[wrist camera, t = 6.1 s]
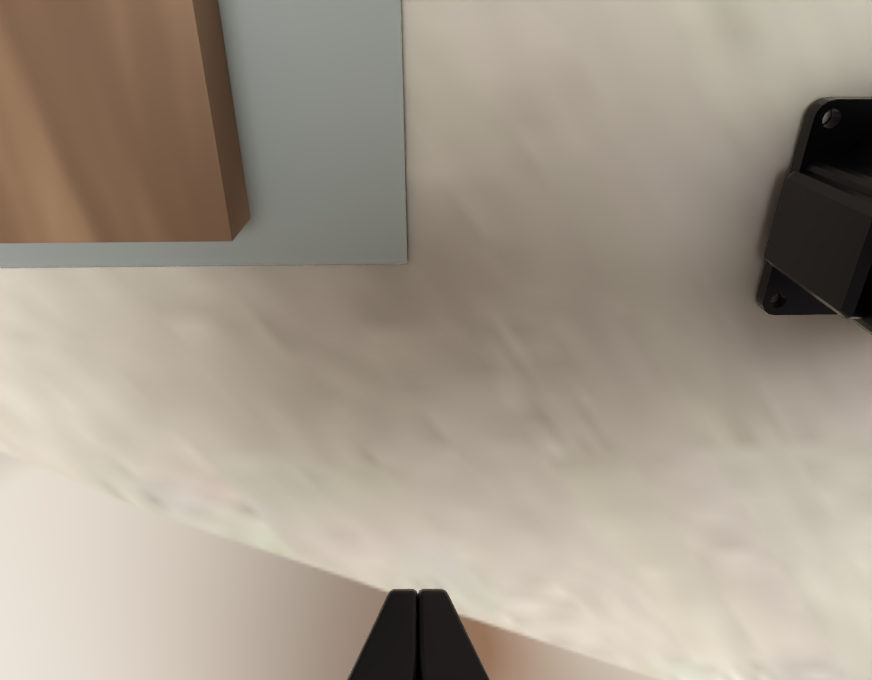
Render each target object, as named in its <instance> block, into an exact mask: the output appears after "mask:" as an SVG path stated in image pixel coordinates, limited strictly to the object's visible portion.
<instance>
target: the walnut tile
mask: <svg viewBox="0 0 872 680" xmlns="http://www.w3.org/2000/svg"><path fill="white" fill-rule="evenodd" d="M249 220H250V213H249V206H248V199H247V193H246V186H245V179H244V173H243V166H242V159H241V152H240V146H239V139H238V132H237V125H236V119H235V112H234V105H233V98H232V92H231V85H230V78H229V72H228V65H227V58H226V51H225V45H224V38H223V31H222V24H221V18H220V11H219V4H218V0H0V243H108V242H218V241H233V240H234V238H235V237H236V236H237V235H238V233H239V232H240V231H241V230H242V228H243V227H244V226H245V225H246V223H247V222H248V221H249Z"/></svg>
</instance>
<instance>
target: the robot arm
mask: <svg viewBox="0 0 872 680" xmlns="http://www.w3.org/2000/svg"><path fill="white" fill-rule="evenodd" d="M829 110H832V111H833V114H832V118H831V120H830V121H829V122H828V123H827V124H826V125H823V124H822V118H823V117H824V115H825V113H826V112H828V111H829ZM765 258H766V260H767V261H766V264H765V268H764V272H763V275H762V279H761V283H760V286H759V290H758V294H757V303H758V305H759V306H760V307H761V308H762V309H763V310H764V311H766V312H767V313H768V314H772V315H812V314H839V315H840V316H841V317H843V318H845V319H851V320H853V321H854V322H855V323H857V324H858V325H859V326H861V327H862V328H864V329H865V330H866V331H868V332H869V333H871V334H872V97H828V98H823V99H820V100H819V101H817V102H815V103H814V104H813V105H812V106H811V107H810V109H809V110H808V112H807V115H806V117H805V121H804V124H803V128H802V132H801V135H800V139H799V143H798V146H797V150H796V154H795V158H794V161H793V165H792V169H791V172H790V174H789V176H788V177H787V178H786V179H785V181H784V184H783V188H782V192H781V195H780V199H779V203H778V207H777V210H776V214H775V218H774V221H773V225H772V229H771V233H770V236H769V240H768V244H767V247H766V251H765ZM776 294H780V297H779V298H778V300H776V301H775V302H772V303H771V299H772V297H774V296H775V295H776ZM347 680H490V679H489V677H488V675H487V673H486V671H485V669H484V667H483V665H482V662H481V660H480V658H479V657H478V654H477V652H476V650H475V648H474V646H473V644H472V642H471V640H470V638H469V636H468V634H467V632H466V630H465V628H464V626H463V624H462V622H461V620H460V617H459V615H458V613H457V611H456V609H455V607H454V605H453V603H452V601H451V599H450V597H449V595H448V593H447V592H446V591H445V590H443V589H422V590H420V591H419V593H418V594H417V591H416V590H414V589H393V590H391V591H390V592H389V593H388V595H387V597H386V599H385V601H384V603H383V605H382V608H381V610H380V612H379V614H378V616H377V618H376V620H375V622H374V624H373V627H372V629H371V631H370V633H369V635H368V637H367V639H366V641H365V643H364V646H363V648H362V650H361V652H360V654H359V656H358V658H357V660H356V662H355V665H354V667H353V669H352V671H351V673H350V675H349V677H348V679H347Z"/></svg>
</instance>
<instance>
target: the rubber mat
mask: <svg viewBox="0 0 872 680" xmlns="http://www.w3.org/2000/svg"><path fill="white" fill-rule="evenodd" d="M218 4H219V11H220V18H221V24H222V31H223V38H224V45H225V51H226V58H227V65H228V72H229V78H230V85H231V92H232V98H233V105H234V112H235V119H236V125H237V132H238V139H239V146H240V152H241V159H242V166H243V173H244V179H245V186H246V193H247V199H248V206H249V213H250V220H249V221H248V222H247V223H246V225H245V226H244V227H243V228H242V230H241V231H240V232H239V233H238V235H237V236H236V237H235V238H234V240H233V241H218V242H108V243H0V268H61V267H161V266H261V265H361V264H407V226H406V185H405V144H404V103H403V62H402V20H401V0H218Z"/></svg>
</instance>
